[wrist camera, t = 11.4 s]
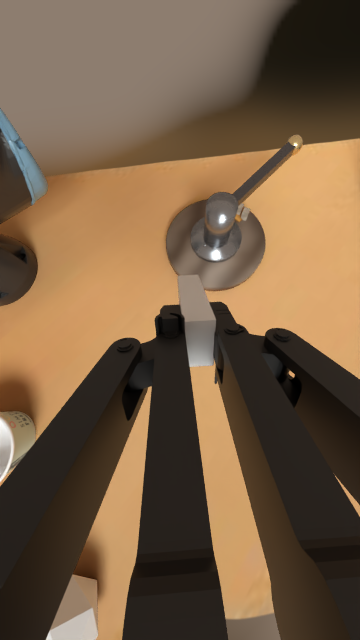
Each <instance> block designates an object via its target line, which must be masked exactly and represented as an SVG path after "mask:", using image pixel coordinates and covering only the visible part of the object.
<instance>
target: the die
mask: <svg viewBox="0 0 360 640" xmlns="http://www.w3.org/2000/svg"><path fill="white" fill-rule="evenodd" d="M97 636H98V603H97V580H95V579H90V578H86V577H82V576H77V575H73V574H72V577H71V579H70V582H69V584H68V587H67V589H66V592H65V594H64V597H63V599H62V601H61V604H60V606H59V609H58V611H57V614H56V616H55V619H54V621H53V624H52V626H51V629H50V631H49V633H48V636H47V638H46V640H95V639H96V638H97Z"/></svg>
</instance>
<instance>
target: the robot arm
mask: <svg viewBox="0 0 360 640" xmlns="http://www.w3.org/2000/svg"><path fill="white" fill-rule="evenodd" d="M47 191H48V183H47V180H46V178H45V176H44V174H43V173H42V171H41V169H40V168H39V166H38V164H37V163H36V161H35V159H34V158H33V156H32V155H31V153H30V152H29V150H28V149H27V147H26V146H25V144H23V142H22V140H21V138H20V137H19V135H18V133H17V132H16V130H15V129H14V127H13V126H12V124H11V123H10V121H9V120H8V118H7V117H6V115H5V114H4V113H3V111H2V110H1V108H0V224H1V223H3V222H4V221H6V220H8V219H9V218H11V217H13V216H14V215H16V214H18V213H19V212H21V211H23V210H24V209H26V208H28V207H29V206H32V205H34V204H35V202H36V201H37V200H38V199H40V198H41V197H42V196H44V195H45V194H46V193H47ZM36 273H37V261H36V258H35V256H34V254H33V252H32V251H31V250H30V249H29V248H28V247H27V246H25V245H24V244H22V243H21V242H20V241H18V240H16V239H14V238H11V237H8V236H5V235H2V234H0V306H3V305H7V304H10V303H12V302H14V301H16V300H18V299H19V298H21V297H22V296H23V295H24V294H25V293H26V292H27V291H28V290H29V289H30V287H31V286H32V284H33V282H34V280H35V277H36ZM178 296H179V305H165V306H163V307H162V308H161V310H160V314H159V315H158V316H156V318H155V327H156V337H155V338H154V339H153V340H151V341H148V342H145V343H142V344H140V342H139V341H138V340H137V339H135V338H123V339H120V340H118V341H116V342H114V343H113V344H112V345H111V346H110V347H109V348H108V350H107V351H106V352H105V354H104V355H103V356H102V357H101V359H100V360H99V361H98V362H97V364H96V365H95V366H94V368H93V369H92V370H91V371H90V373H89V374H88V375H87V377H86V378H85V379H84V380H83V382H82V383H81V384H80V386H79V387H78V388H77V389H76V391H75V392H74V393H73V394H72V396H71V397H70V398H69V400H68V401H67V402H66V403H65V405H64V406H63V407H62V409H61V410H60V411H59V412H58V414H57V415H56V416H55V417H54V419H53V420H52V421H51V423H50V424H49V425H48V426H47V428H46V429H45V430H44V432H43V433H42V434H41V435H40V437H39V438H38V439H37V440H36V442H35V443H34V444H33V446H32V447H31V448H30V449H29V451H28V452H27V453H26V455H25V456H24V457H23V458H22V460H21V461H20V462H19V464H18V465H17V466H16V467H15V469H14V470H13V471H12V472H11V474H10V475H9V476H8V478H7V479H6V480H5V481H4V483H3V484H2V485H1V487H0V640H46V638H47V636H48V633H49V631H50V629H51V626H52V624H53V621H54V619H55V616H56V614H57V611H58V609H59V606H60V604H61V601H62V599H63V597H64V594H65V592H66V589H67V587H68V584H69V582H70V579H71V577H72V574H73V572H74V570H75V567H76V565H77V562H78V560H79V557H80V555H81V552H82V550H83V547H84V545H85V542H86V540H87V538H88V535H89V533H90V530H91V528H92V525H93V523H94V520H95V518H96V515H97V513H98V511H99V508H100V506H101V503H102V501H103V498H104V496H105V493H106V491H107V488H108V486H109V483H110V481H111V479H112V476H113V474H114V471H115V469H116V466H117V464H118V461H119V459H120V456H121V454H122V452H123V449H124V447H125V444H126V442H127V439H128V437H129V434H130V432H131V429H132V427H133V424H134V422H135V420H136V417H137V415H138V412H139V410H140V407H141V405H142V402H143V400H144V397H145V395H146V393H147V389H148V387H150V386H152V392H151V403H150V415H149V426H148V437H147V449H146V460H145V472H144V483H143V494H142V506H141V517H140V528H139V540H138V550H137V557H136V563H135V566H134V570H133V573H132V576H131V580H130V585H129V591H128V596H127V603H126V611H125V619H124V628H123V637H122V640H228V635H227V628H226V620H225V613H224V606H223V599H222V593H221V586H220V581H219V575H218V570H217V565H216V561H215V557H214V551H213V545H212V538H211V530H210V522H209V515H208V507H207V499H206V491H205V484H204V476H203V468H202V460H201V453H200V445H199V437H198V429H197V422H196V414H195V406H194V398H193V391H192V383H191V375H190V367H194V366H210V365H214V360H215V363H216V368H215V384H217V381H218V384H219V388H220V392H221V395H222V399H223V403H224V407H225V410H226V414H227V418H228V421H229V425H230V429H231V433H232V436H233V440H234V444H235V448H236V451H237V455H238V459H239V462H240V466H241V470H242V474H243V477H244V481H245V485H246V488H247V492H248V496H249V500H250V503H251V507H252V511H253V515H254V518H255V522H256V526H257V529H258V533H259V537H260V541H261V544H262V548H263V552H264V556H265V559H266V563H267V567H268V571H269V575H270V581H271V591H272V601H273V607H274V613H275V617H276V621H277V626H278V630H279V634H280V637H281V640H360V517H359V515H358V513H357V512H356V510H355V508H354V507H353V505H352V503H351V502H350V500H349V498H348V497H347V495H346V493H345V492H344V490H343V489H342V487H341V485H340V484H339V482H338V480H337V479H336V477H337V478H338V479H339V480H340V482H341V483H342V484H343V485H344V487H345V488H346V489H347V490H348V491H349V493H350V494H351V495H352V496H353V497H354V499H355V500H356V501H357V502H358V503H359V505H360V379H358V378H357V377H355V376H354V375H353V374H351V373H350V372H348V371H347V370H346V369H344V368H343V367H341V366H340V365H338V364H337V363H336V362H334V361H333V360H331V359H330V358H329V357H327V356H326V355H324V354H323V353H322V352H320V351H319V350H317V349H316V348H314V347H313V346H312V345H310V344H309V343H307V342H306V341H305V340H303V339H302V338H300V337H299V336H297V335H296V334H295V333H293V332H291V331H289V330H286V329H282V328H272V329H269V330H268V331H267V332H266V334H265V336H258V335H252V334H249V333H248V331H247V329H246V328H245V327H243V326H242V325H240V324H237V323H236V322H235V320H234V318H233V316H232V314H231V313H230V311H229V309H228V307H227V305H225V304H224V303H222V302H209V301H208V298H207V296H206V293H205V291H204V288H203V286H202V283H201V281H200V278H199V276H198V275H183V276H178ZM289 370H290V371H292V372H293V373H294V374H295V377H294V378H293V377H292V376H290V375H289V374H288V373H289ZM333 473H334V474H335V475H334V474H333ZM335 476H336V477H335Z"/></svg>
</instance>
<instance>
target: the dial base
mask: <svg viewBox="0 0 360 640" xmlns="http://www.w3.org/2000/svg"><path fill="white" fill-rule="evenodd" d="M207 201H208V199H207V200H202V201H199V202H196V203H194V204H191V205H190V206H188V207H186V208H185V209H183V210H182V211H181V212H180V213H179V214H178V215H177V216H176V217H175V219H174V220H173V221H172V223H171V225H170V227H169V230H168V233H167V239H166V248H167V253H168V258H169V261H170V264H171V266H172V268H173V269H174V271H175V272H176V274H177V275H178V276H183V275H198V276H199V278H200V281H201V283H202V286H203V288H204V290H208V291H222V290H227V289H231V288H234V287H236V286H238V285H240V284H241V283H243V282H245V281H246V280H247V279H248V278H249V277H250V276H251V275H252V274H253V273H254V271H255V270H256V269H257V267H258V266H259V264H260V262H261V260H262V258H263V255H264V252H265V235H264V231H263V228H262V226H261V224H260V222H259V221H258V219H257V218H256V217H255V216H254V214H253V213H252V212H250V209H249V208H246V207H244V206H243V205H244V204H242V203H241V204H240V205H239V206H238V210H237V213H236V217H235V220H234V222H236V224H237V225H238V226H239V228H240V230H241V234H242V240H241V244H240V247H239V249H238V251H237V252H236V254H235V255H234V256H233V257H232V258H230V259H228V260H226V261H223V262H218V263H213V262H208V261H205V260H203V259H201V258H200V257H198V256H197V255H196V254H195V252H194V251H193V249H192V247H191V241H190V237H191V231H192V229H193V227H194V225H195V224H196V223H197V222H198V221H199V220H200V219H202V218H204V217H205V213H206V204H207Z"/></svg>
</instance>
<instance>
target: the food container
mask: <svg viewBox="0 0 360 640" xmlns="http://www.w3.org/2000/svg"><path fill="white" fill-rule="evenodd" d="M35 439H36V429H35V425H34V423H33V421H32V419H31V418H30V417H29V416H28V415H27V414H25V413H23V412H20V411H7V412H0V482H1V481H2V479H3V478H4V477H5V475H6V474H7V473H9V472H10V471H11V470H12V469H13V468H14V467H16V466H17V465H18V464H19V462H20V461H21V460H22V458H23V457H24V456H25V455H26V453H27V452H28V451H29V449H30V448H31V447H32V446H33V444H34V443H35Z"/></svg>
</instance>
